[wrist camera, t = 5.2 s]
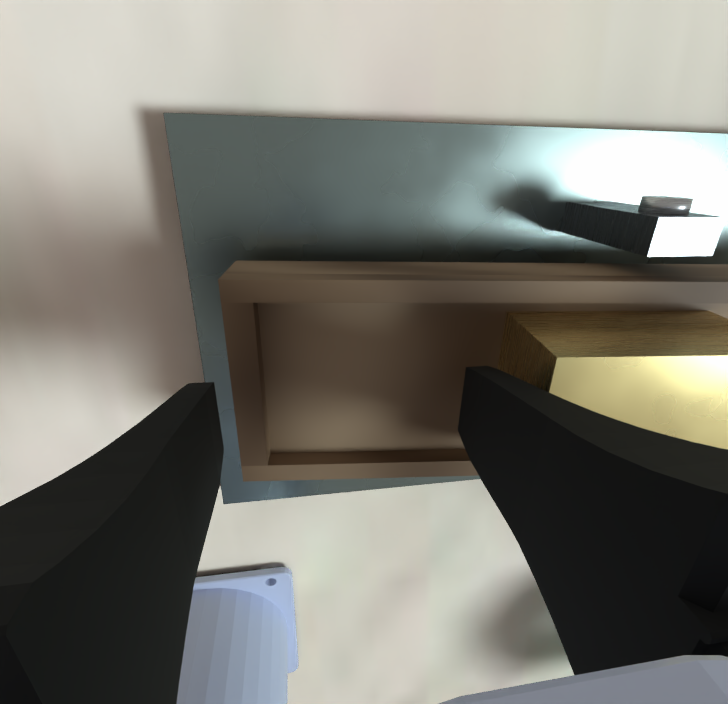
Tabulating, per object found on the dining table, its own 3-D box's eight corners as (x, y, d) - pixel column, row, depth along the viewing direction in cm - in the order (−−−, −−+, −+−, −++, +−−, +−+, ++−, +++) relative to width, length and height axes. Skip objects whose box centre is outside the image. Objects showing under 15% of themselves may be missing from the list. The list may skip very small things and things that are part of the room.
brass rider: (485, 439, 14) (522, 509, 11) (506, 311, 12) (556, 357, 9) (661, 435, 14) (738, 501, 11) (708, 310, 12) (813, 354, 10)
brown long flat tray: (255, 440, 15) (243, 481, 13) (236, 260, 12) (217, 279, 10) (876, 428, 17) (946, 463, 15) (978, 266, 14) (1079, 283, 12)
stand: (226, 487, 18) (206, 594, 14) (172, 116, 12) (107, 94, 8) (756, 437, 22) (873, 508, 18) (903, 142, 17) (1130, 137, 12)
